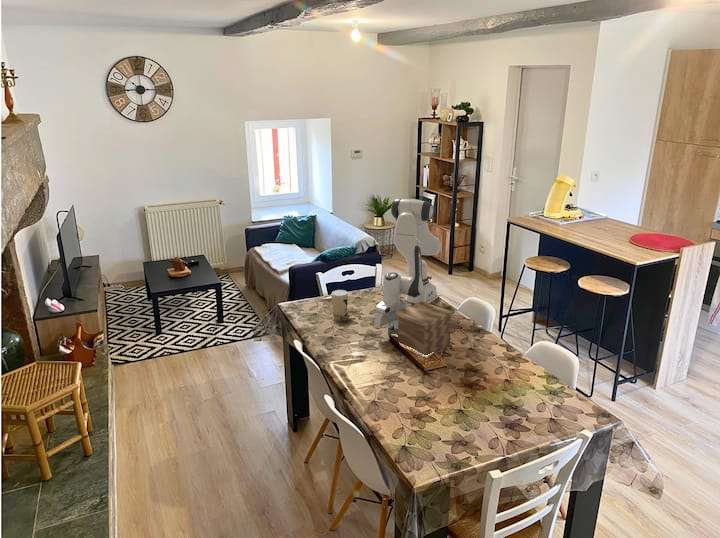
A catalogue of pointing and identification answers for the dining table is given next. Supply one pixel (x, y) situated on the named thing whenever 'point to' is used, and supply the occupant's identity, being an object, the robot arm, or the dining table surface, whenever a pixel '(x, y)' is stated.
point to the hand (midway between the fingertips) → (391, 328)
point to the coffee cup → (339, 302)
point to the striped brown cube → (424, 327)
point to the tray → (394, 328)
